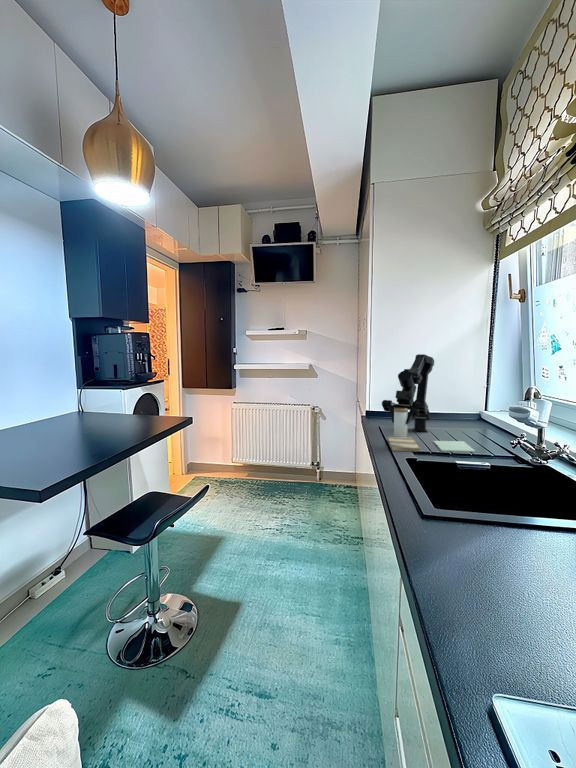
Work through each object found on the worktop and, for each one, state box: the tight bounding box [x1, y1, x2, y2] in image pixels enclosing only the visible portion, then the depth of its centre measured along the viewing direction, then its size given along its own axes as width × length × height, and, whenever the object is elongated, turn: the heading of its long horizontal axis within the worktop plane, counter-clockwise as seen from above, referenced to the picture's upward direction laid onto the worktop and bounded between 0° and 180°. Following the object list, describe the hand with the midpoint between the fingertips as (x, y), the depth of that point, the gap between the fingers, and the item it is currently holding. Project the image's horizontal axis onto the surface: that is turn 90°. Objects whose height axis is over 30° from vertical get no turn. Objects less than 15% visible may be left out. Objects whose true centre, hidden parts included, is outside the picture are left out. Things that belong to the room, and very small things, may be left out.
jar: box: [393, 407, 409, 437], centre depth 140 cm, size 6×6×12 cm
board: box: [387, 436, 421, 453], centre depth 144 cm, size 16×11×2 cm
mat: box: [432, 440, 476, 453], centre depth 141 cm, size 13×13×1 cm
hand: (399, 423), depth 139 cm, fingers closed on jar, 6 cm apart
